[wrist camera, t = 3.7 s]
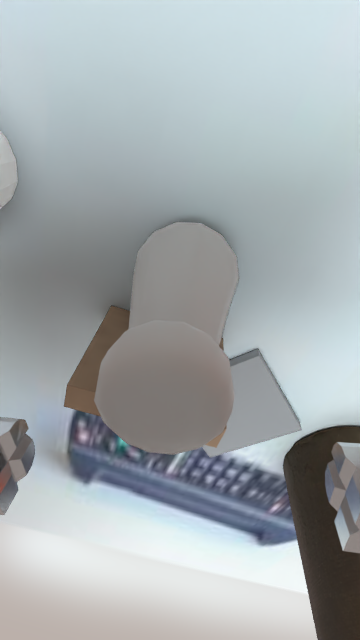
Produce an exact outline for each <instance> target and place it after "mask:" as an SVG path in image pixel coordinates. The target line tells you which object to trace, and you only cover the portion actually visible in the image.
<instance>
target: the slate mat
mask: <svg viewBox="0 0 360 640" xmlns="http://www.w3.org/2000/svg"><path fill="white" fill-rule="evenodd" d="M229 362H230V368H231V375H232V382H233V389H234V396H235V397H234V403H233V409H232V413H231V415H230V417H229V420H228V422H227V424H226V426H227V429H226V431H225V433H224V435H223V437H222V438H221V440H220V442H219V444H218V446H217V448H215V447H211V446H207V445H204V446H202V447H203V449H204V450H205V451H206V453H207V454H208V455H209V456H210V457H213V456H217V455H220V454H223V453H227V452H230V451H233V450H237V449H240V448H243V447H247V446H250V445H253V444H257V443H260V442H263V441H267V440H270V439H273V438H277V437H280V436H283V435H287V434H290V433H293V432H297V431H300V430H302V429H301V425H300V422H299V420H298V418H297V417H296V415H295V413H294V411H293V410H292V408H291V406H290V404H289V403H288V401H287V399H286V397H285V396H284V394H283V392H282V390H281V389H280V387H279V385H278V383H277V382H276V380H275V378H274V376H273V374H272V373H271V371H270V369H269V367H268V366H267V364H266V362H265V360H264V359H263V357H262V355H261V353H260V352H259V350H258V349H256V350H254V351H251V352H249V353H246V354H244V355H241V356H239V357H236V358H233V359H231V360H229Z"/></svg>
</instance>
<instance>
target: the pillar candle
mask: <svg viewBox="0 0 360 640" xmlns="http://www.w3.org/2000/svg"><path fill="white" fill-rule="evenodd" d="M336 442H343V443H359V444H360V427H350V426H349V427H335V428H330V429H326V430H323V431H319V432H316V433H314V434H313V435H310V436H309V437H307V438H304V439H302V440H300V441H298V442H297V443H296V444H295V445H294V446H293V447H292V448H291V449H290V451H289V452H288V454H287V455H286V457H285V460H284V465H283V469H284V475H285V480H286V484H287V491H288V495H289V501H290V506H291V511H292V515H293V521H294V526H295V530H296V535H297V540H298V545H299V550H300V555H301V559H302V565H303V569H304V574H305V579H306V584H307V589H308V594H309V599H310V604H311V608H312V614H313V619H314V623H315V628H316V633H317V638H318V640H360V553H354V552H347V551H343V550H342V546H341V543H340V539H339V536H338V532H337V529H336V525H335V522H334V521H335V518H336V516H337V513H338V512H337V511H336V509H335V508H334V507H333V506H332V505H331V504H330V503H329V500H328V496H327V493H326V486H325V471H326V468H327V464H328V463H329V462H331V461H332V460H334V459H333V455H332V449H333V446H334V444H335V443H336Z"/></svg>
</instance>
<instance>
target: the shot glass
mask: <svg viewBox="0 0 360 640" xmlns="http://www.w3.org/2000/svg"><path fill="white" fill-rule="evenodd" d="M17 183H18V176H17V163H16V159H15V156H14V154H13V152H12V149H11V147H10V145H9V142H8V140H7V138H6V137H5V136H4V134H3V133H2V132H1V131H0V209H1V208H2V207H3V206H4V205H5V204H7V203H8V202H9V201H10V200H11V199H12V197H13V194H14V191H15V189H16V186H17Z"/></svg>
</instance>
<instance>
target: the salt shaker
mask: <svg viewBox="0 0 360 640" xmlns="http://www.w3.org/2000/svg"><path fill="white" fill-rule="evenodd" d="M238 281H239V272H238V263H237V256H236V255H235V253H234V252H233V250H232V249H231V247H230V246H229V244H228V243H227V242H226V240H225V239H224V237H223V236H222V234H220V233H218V232H216V231H214V230H213V229H211V228H209V227H207V226H205V225H203V224H202V223H191V222H175V223H173V224H170V225H168V226H166V227H163V228H161V229H159V230H157V231H155V232H153V233H152V234H151V235H150V237H149V238H148V239H147V240H146V242H145V243H144V244H143V245H142V247H141V248H140V249H139V250H138V253H137V258H136V263H135V268H134V273H133V284H132V295H131V306H130V318H129V329H128V330H127V331H125V332H124V333H123V334H122V335H121V337H120V338H119V339H118V340H117V341H116V342H115V343H114V344H113V346H112V347H111V348H110V349H109V350H108V351H107V353H106V355H105V357H104V358H103V360H102V362H101V365H100V370H99V376H98V381H97V387H96V392H95V398H94V402H95V404H96V406H97V409H98V411H99V413H100V415H101V417H102V420H103V422H104V423H105V424H106V425H107V426H108V427H109V428H110V429H111V430H112V431H113V432H115V433H116V434H117V435H118V436H119V437H120V438H121V439H122V440H123V441H125V442H126V443H127V444H130V445H132V446H135V447H137V448H140V449H142V450H145V451H147V452H152V453H163V454H178V453H182V452H186V451H190V450H195V449H197V448H200V447H202V446H204V445H205V444H207V443H208V442H209V441H211V440H212V439H214V438H215V437H217V436H218V435H220V434H221V433H223V431H224V428H225V426H226V424H227V422H228V420H229V417H230V415H231V413H232V409H233V403H234V397H235V396H234V389H233V382H232V375H231V368H230V362H229V358H228V357H227V355H226V354H225V353H224V351H223V350H222V349H221V348H220V347H219V344H220V341H221V337H222V333H223V330H224V326H225V322H226V319H227V315H228V312H229V309H230V306H231V303H232V299H233V296H234V293H235V290H236V287H237V284H238Z"/></svg>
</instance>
